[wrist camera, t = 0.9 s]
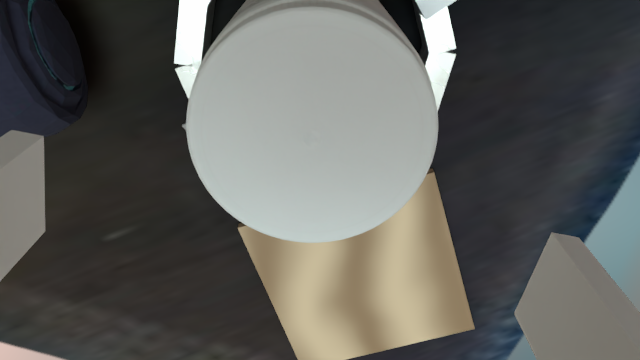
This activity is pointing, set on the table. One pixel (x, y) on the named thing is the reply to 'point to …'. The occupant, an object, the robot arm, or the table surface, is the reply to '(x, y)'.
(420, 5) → the collar
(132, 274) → the table surface
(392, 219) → the mat
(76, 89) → the portable speaker
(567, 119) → the table surface
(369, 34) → the supplement tub
